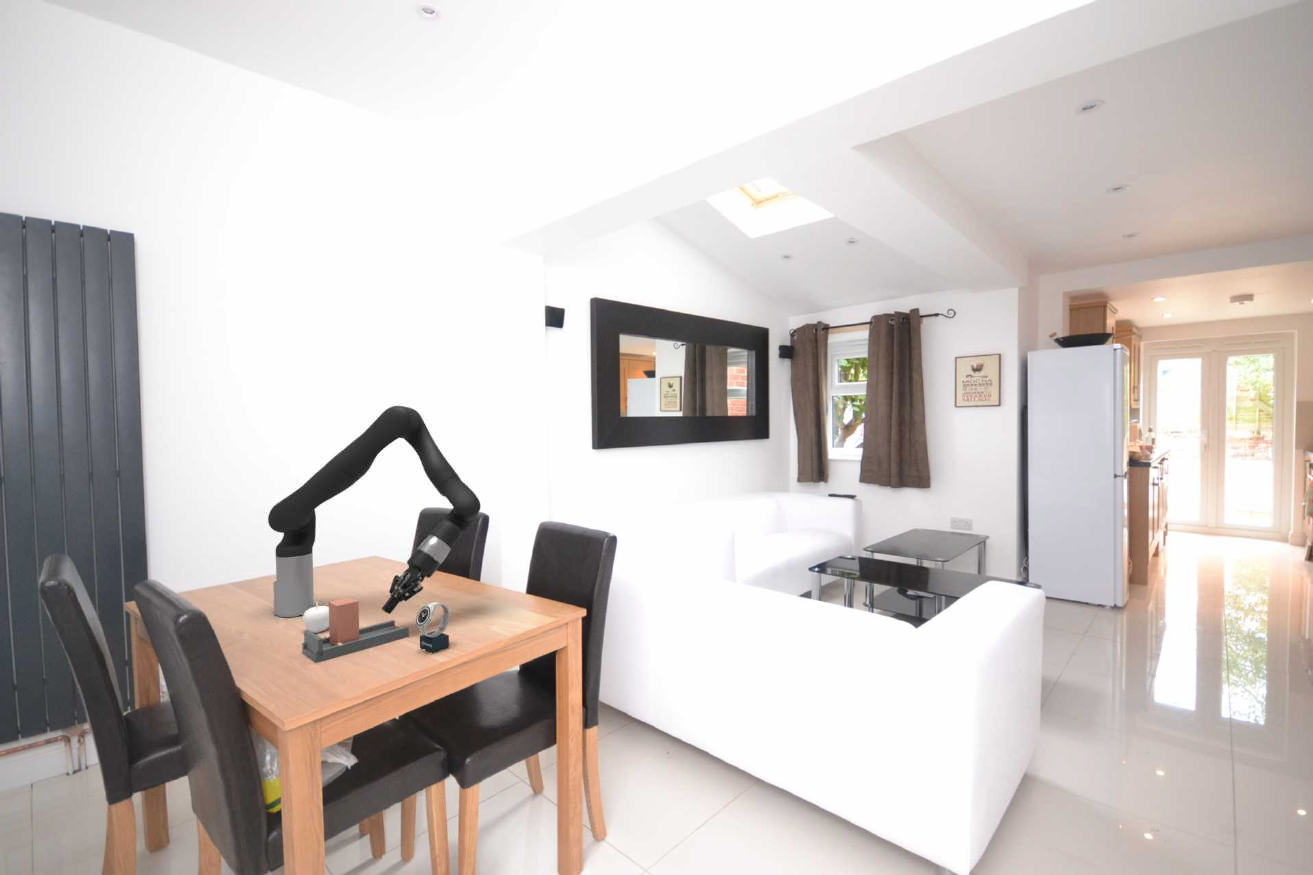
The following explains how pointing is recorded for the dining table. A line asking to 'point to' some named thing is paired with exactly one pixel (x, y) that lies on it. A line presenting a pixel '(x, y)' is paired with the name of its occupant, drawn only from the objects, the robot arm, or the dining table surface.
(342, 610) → the block
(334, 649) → the rail
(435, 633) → the watch
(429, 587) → the dining table surface
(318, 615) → the plain white apple
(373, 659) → the dining table surface
